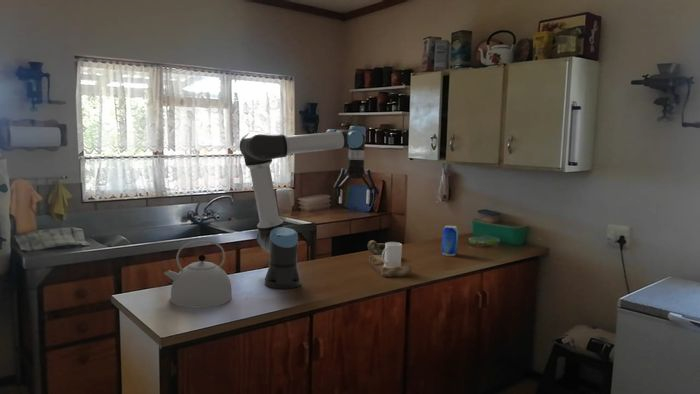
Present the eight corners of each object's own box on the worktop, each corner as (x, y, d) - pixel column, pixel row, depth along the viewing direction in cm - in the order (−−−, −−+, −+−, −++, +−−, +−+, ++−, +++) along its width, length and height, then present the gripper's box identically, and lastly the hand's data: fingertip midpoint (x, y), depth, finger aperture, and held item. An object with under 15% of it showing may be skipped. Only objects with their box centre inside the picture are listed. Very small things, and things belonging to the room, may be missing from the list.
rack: (382, 276, 235) (383, 267, 235) (369, 263, 256) (369, 255, 256) (410, 275, 239) (411, 267, 238) (395, 263, 260) (395, 255, 259)
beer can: (458, 254, 285) (460, 226, 283) (453, 257, 278) (455, 228, 276) (444, 251, 289) (446, 224, 287) (438, 254, 282) (440, 226, 280)
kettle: (165, 311, 181) (165, 249, 178) (162, 291, 201) (162, 235, 198) (236, 304, 190) (237, 246, 187) (226, 286, 211) (227, 233, 208)
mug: (386, 272, 238) (387, 247, 237) (374, 267, 245) (375, 243, 243) (404, 269, 245) (406, 244, 243) (393, 264, 252) (394, 241, 250)
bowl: (402, 259, 268) (403, 241, 267) (374, 262, 259) (375, 243, 258) (387, 253, 280) (388, 235, 278) (360, 256, 271) (361, 237, 269)
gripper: (332, 158, 234) (330, 204, 237) (383, 160, 240) (381, 204, 243) (328, 157, 241) (327, 201, 244) (379, 159, 247) (376, 202, 250)
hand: (354, 203), depth 243 cm, fingers open, 13 cm apart
